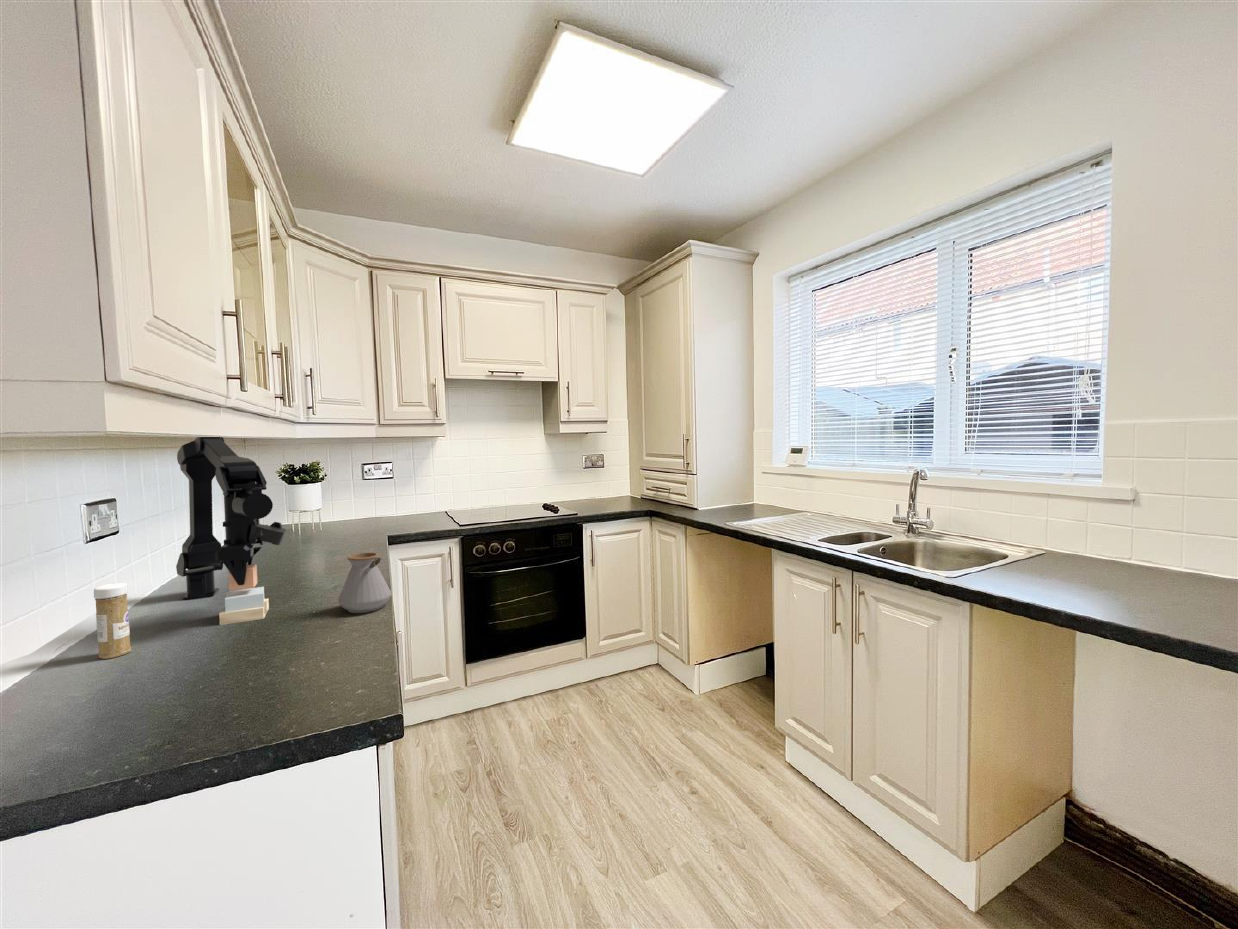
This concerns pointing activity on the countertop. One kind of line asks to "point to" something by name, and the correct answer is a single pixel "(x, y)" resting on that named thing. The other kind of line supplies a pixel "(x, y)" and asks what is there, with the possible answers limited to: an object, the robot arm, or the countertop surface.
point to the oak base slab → (244, 614)
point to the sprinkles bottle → (112, 620)
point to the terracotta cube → (249, 580)
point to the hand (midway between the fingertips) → (243, 582)
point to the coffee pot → (364, 585)
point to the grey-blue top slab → (244, 599)
